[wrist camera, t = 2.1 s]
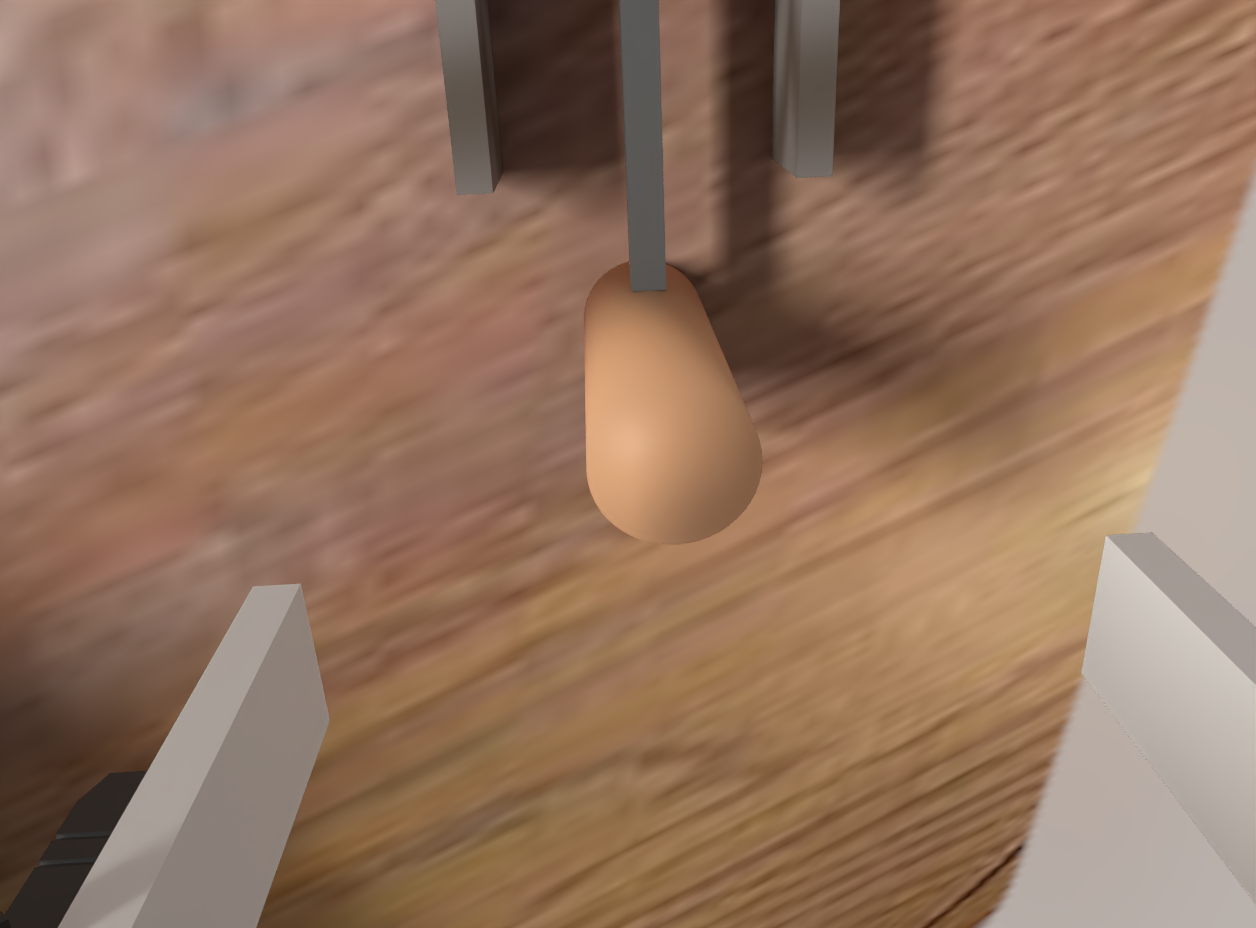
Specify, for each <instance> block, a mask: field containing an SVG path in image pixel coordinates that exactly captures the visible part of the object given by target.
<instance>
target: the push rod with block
mask: <svg viewBox="0 0 1256 928" xmlns="http://www.w3.org/2000/svg"><path fill="white" fill-rule="evenodd" d="M619 20H620V44H621V68H622V93H623V117H624V141H625V165H626V190H627V214H628V238H629V262H626V263H623V264H621V265H618V266H616V267H615V268H613V269H611V270H610V271H608V272H607V273H606V274H604V275H603V276H602V277H601V278H600V279H599V280H598V282H597V283H596V284H595V285H594V287H593V289H592V290H591V292H590V294H589V297H588V299H587V302H586V306H585V312H584V348H585V407H586V466H587V479H588V484H589V488H590V491H591V494H592V496H593V498H594V501H595V503H596V504H597V506H598V507H599V509H600V511H601V512H602V513H603V514H604V515H605V517H606V518H607V519H608V520H609V521H610V522H612V523H613V524H614V525H615V526H616V527H618V528H619V529H620V530H622V531H623V532H625V533H627V534H629V535H631V536H633V537H635V538H638V539H641V540H643V541H647V542H651V543H657V544H685V543H691V542H695V541H699V540H702V539H704V538H707V537H710V536H712V535H714V534H716V533H718V532H720V531H721V530H723V529H724V528H726V527H727V526H729V525H730V524H731V523H732V522H734V521H735V520H736V519H737V518H738V517H739V516H740V515H741V514H742V513H743V512H744V510H745V509H746V508H747V506H748V505H749V503H750V502H751V500H752V498H753V496H754V495H755V493H756V490H757V487H758V485H759V482H760V477H761V473H762V450H761V445H760V441H759V438H758V435H757V432H756V430H755V428H754V425H753V423H752V421H751V418H750V416H749V413H748V411H747V409H746V406H745V404H744V402H743V399H742V397H741V395H740V392H739V390H738V387H737V385H736V383H735V380H734V378H733V376H732V373H731V371H730V369H729V366H728V364H727V362H726V359H725V357H724V354H723V352H722V350H721V347H720V345H719V343H718V340H717V338H716V336H715V333H714V331H713V329H712V326H711V324H710V321H709V319H708V317H707V314H706V312H705V310H704V307H703V305H702V303H701V300H700V298H699V295H698V293H697V291H696V289H695V288H694V286H693V285H692V283H691V282H690V280H689V279H688V278H687V277H686V276H685V275H684V274H682V273H681V272H680V271H679V270H677V269H676V268H674V267H672V266H670V265H668V264H665V226H664V188H663V149H662V111H661V72H660V34H659V0H619Z"/></svg>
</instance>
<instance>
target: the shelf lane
mask: <svg viewBox="0 0 1256 928" xmlns="http://www.w3.org/2000/svg"><path fill="white" fill-rule="evenodd" d="M435 1H436V10H437V19H438V28H439V37H440V46H441V55H442V64H443V73H444V82H445V91H446V100H447V109H448V118H449V127H450V136H451V145H452V154H453V163H454V172H455V181H456V190H457V195H466V194H486V193H493V192H494V190H495V188H496V186H497V184H498V182H499V180H500V178H501V175H502V173H503V165H502V154H501V143H500V132H499V121H498V110H497V99H496V88H495V78H494V67H493V56H492V45H491V34H490V23H489V12H488V1H487V0H435ZM839 12H840V0H775V4H774V59H773V113H772V159H773V160H774V161H775V162H777V163H778V164H779V165H780V166H782V167H783V168H784V169H786V170H787V171H788V172H790V173H791V174H792V175H794V176H795V177H796V178H807V177H827V176H832V173H833V150H834V127H835V104H836V81H837V58H838V35H839Z"/></svg>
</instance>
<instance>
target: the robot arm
mask: <svg viewBox="0 0 1256 928" xmlns="http://www.w3.org/2000/svg"><path fill="white" fill-rule="evenodd" d="M1081 673H1082V675H1083V676H1084V677H1085V679H1086V680H1087V681H1088V683H1089V684H1090V685H1091V687H1092V688H1093V689H1094V691H1095V692H1096V693H1097V695H1098V696H1099V697H1100V699H1101V700H1102V701H1103V703H1104V704H1105V705H1106V707H1107V708H1108V709H1109V710H1110V712H1111V713H1112V714H1113V716H1114V717H1115V719H1116V720H1117V721H1118V723H1119V724H1120V725H1121V726H1122V728H1123V729H1124V730H1125V732H1126V733H1127V734H1128V736H1129V737H1130V738H1131V740H1132V741H1133V742H1134V744H1135V745H1136V746H1137V748H1138V749H1139V750H1140V752H1141V753H1142V754H1143V756H1144V757H1145V758H1146V760H1147V761H1148V762H1149V764H1150V765H1151V766H1152V767H1153V769H1154V770H1155V772H1156V773H1157V774H1158V775H1159V777H1160V778H1161V779H1162V781H1163V782H1164V784H1165V785H1166V786H1167V787H1168V789H1169V790H1170V791H1171V793H1172V794H1173V795H1174V797H1175V798H1176V799H1177V801H1178V802H1179V803H1180V805H1181V806H1182V807H1183V809H1184V810H1185V811H1186V813H1187V814H1188V815H1189V817H1190V818H1191V819H1192V821H1193V822H1194V823H1195V825H1196V826H1197V827H1198V828H1199V830H1200V831H1201V833H1202V834H1203V835H1204V836H1205V838H1206V839H1207V840H1208V842H1209V843H1210V844H1211V846H1212V847H1213V848H1214V850H1215V851H1216V852H1217V854H1218V855H1219V856H1220V858H1221V859H1222V860H1223V861H1224V863H1225V864H1226V866H1227V867H1228V868H1229V870H1230V871H1231V872H1232V874H1233V875H1234V876H1235V877H1236V879H1237V880H1238V882H1239V883H1240V884H1241V886H1242V887H1243V888H1244V890H1245V891H1246V892H1247V894H1248V895H1249V896H1250V898H1251V899H1252V900H1253V902H1254V903H1255V904H1256V627H1255V626H1254V625H1253V624H1252V623H1251V622H1250V621H1249V620H1247V619H1246V618H1245V617H1244V616H1243V615H1242V614H1241V613H1240V612H1239V611H1238V610H1236V609H1235V608H1234V607H1233V606H1232V605H1231V604H1230V603H1229V602H1228V601H1227V600H1226V599H1224V598H1223V597H1222V596H1221V595H1220V594H1219V593H1218V592H1217V591H1216V590H1215V589H1213V588H1212V587H1211V586H1210V585H1209V584H1208V583H1207V582H1206V581H1205V580H1204V579H1202V578H1201V577H1200V576H1199V575H1198V574H1197V573H1196V572H1195V571H1194V570H1193V569H1192V568H1190V567H1189V566H1188V565H1187V564H1186V563H1185V562H1184V561H1183V560H1182V559H1181V558H1179V557H1178V556H1177V555H1176V554H1175V553H1174V552H1173V551H1172V550H1171V549H1170V548H1169V547H1167V546H1166V545H1165V544H1164V543H1163V542H1162V541H1161V540H1160V539H1159V538H1158V537H1157V536H1156V535H1154V534H1153V533H1135V534H1119V535H1106V538H1105V544H1104V550H1103V555H1102V561H1101V566H1100V572H1099V577H1098V583H1097V589H1096V594H1095V600H1094V605H1093V611H1092V616H1091V622H1090V628H1089V633H1088V639H1087V644H1086V650H1085V655H1084V661H1083V667H1082V672H1081ZM329 722H330V718H329V714H328V709H327V704H326V700H325V695H324V690H323V686H322V681H321V676H320V671H319V667H318V662H317V657H316V653H315V648H314V643H313V639H312V634H311V629H310V625H309V620H308V615H307V610H306V606H305V601H304V596H303V592H302V587H301V584H287V585H271V586H254V587H252V589H251V591H250V593H249V594H248V596H247V598H246V600H245V601H244V603H243V605H242V607H241V608H240V610H239V612H238V614H237V615H236V617H235V619H234V621H233V622H232V624H231V626H230V628H229V629H228V631H227V633H226V635H225V636H224V638H223V640H222V642H221V643H220V645H219V647H218V649H217V650H216V652H215V654H214V656H213V657H212V659H211V661H210V663H209V664H208V666H207V668H206V670H205V671H204V673H203V675H202V677H201V678H200V680H199V682H198V684H197V685H196V687H195V689H194V691H193V692H192V694H191V696H190V698H189V699H188V701H187V703H186V705H185V706H184V708H183V710H182V711H181V713H180V715H179V717H178V718H177V720H176V722H175V724H174V725H173V727H172V729H171V731H170V732H169V734H168V736H167V738H166V739H165V741H164V743H163V745H162V746H161V748H160V750H159V752H158V753H157V755H156V757H155V759H154V760H153V762H152V764H151V766H150V767H149V769H148V771H139V772H123V773H110V774H109V775H108V776H106V777H105V778H104V779H103V780H102V781H101V782H100V783H98V784H97V785H96V786H95V787H94V788H93V789H91V790H90V791H89V792H88V793H87V794H86V795H85V796H83V797H82V798H81V799H80V800H79V801H78V802H77V803H76V804H75V806H74V807H73V809H72V810H71V812H70V814H69V815H68V817H67V818H66V820H65V821H64V823H63V824H62V826H61V828H60V829H59V831H58V832H57V834H56V840H55V841H52V842H51V843H50V845H49V846H48V848H47V849H46V851H45V853H44V854H43V856H42V857H41V859H40V860H39V867H38V868H34V870H33V871H32V873H31V875H30V876H29V878H28V879H27V881H26V882H25V884H24V885H23V887H22V889H21V890H20V892H19V893H18V895H17V896H16V898H15V900H14V901H13V903H12V904H11V906H10V907H9V909H8V911H7V912H6V914H5V915H4V914H3V913H2V912H1V911H0V928H256V927H257V924H258V921H259V918H260V916H261V913H262V910H263V907H264V904H265V902H266V899H267V896H268V893H269V890H270V888H271V885H272V882H273V879H274V876H275V873H276V871H277V868H278V865H279V862H280V859H281V857H282V854H283V851H284V848H285V845H286V843H287V840H288V837H289V834H290V831H291V829H292V826H293V823H294V820H295V817H296V814H297V812H298V809H299V806H300V803H301V800H302V798H303V795H304V792H305V789H306V786H307V784H308V781H309V778H310V775H311V772H312V769H313V767H314V764H315V761H316V758H317V755H318V753H319V750H320V747H321V744H322V741H323V739H324V736H325V733H326V730H327V727H328V725H329Z"/></svg>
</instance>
